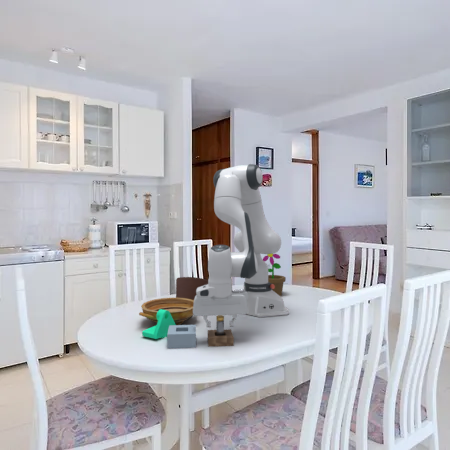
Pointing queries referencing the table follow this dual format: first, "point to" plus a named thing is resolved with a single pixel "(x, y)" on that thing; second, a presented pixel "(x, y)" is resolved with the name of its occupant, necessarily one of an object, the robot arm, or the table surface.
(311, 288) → the table surface
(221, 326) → the lock pin
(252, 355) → the table surface
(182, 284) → the letter holder
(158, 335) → the camera mount
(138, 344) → the table surface
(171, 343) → the dock
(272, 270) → the flowerpot
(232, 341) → the pin mount
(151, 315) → the ceramic bowl
